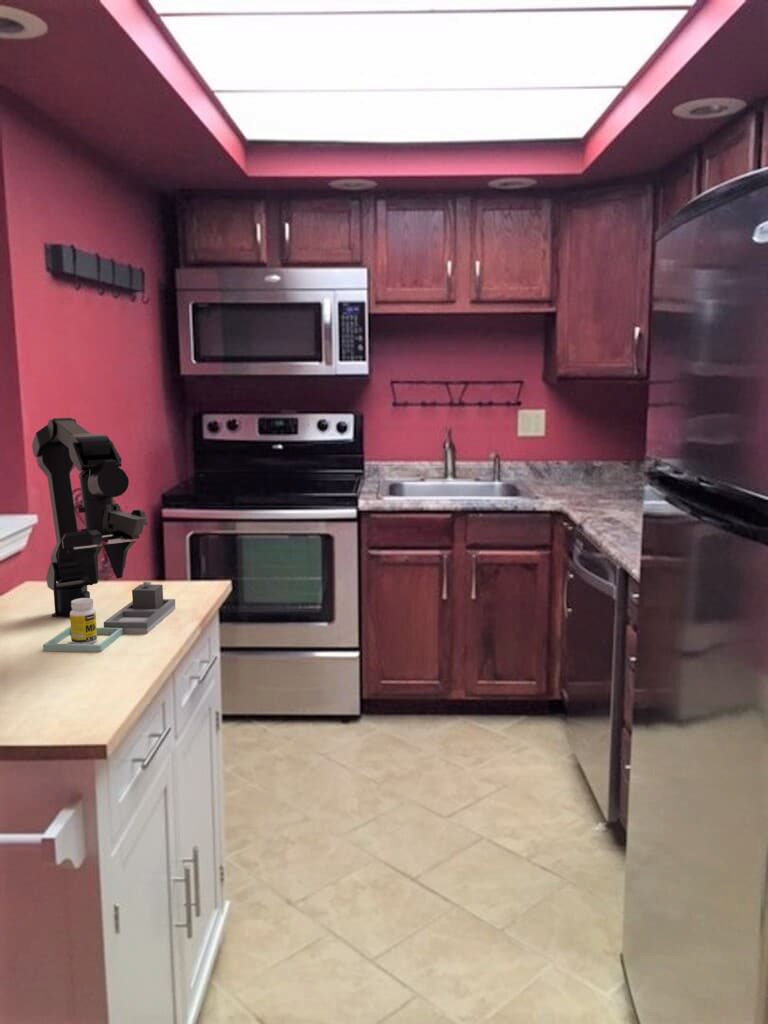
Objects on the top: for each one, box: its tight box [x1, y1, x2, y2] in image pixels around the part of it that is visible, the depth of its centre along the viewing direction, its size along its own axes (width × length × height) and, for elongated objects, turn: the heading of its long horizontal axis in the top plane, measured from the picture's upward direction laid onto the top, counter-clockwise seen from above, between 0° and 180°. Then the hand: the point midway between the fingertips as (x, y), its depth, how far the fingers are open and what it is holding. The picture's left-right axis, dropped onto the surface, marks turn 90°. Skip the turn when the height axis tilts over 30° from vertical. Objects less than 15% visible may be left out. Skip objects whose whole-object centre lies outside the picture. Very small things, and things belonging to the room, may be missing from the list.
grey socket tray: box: [103, 598, 177, 634], centre depth 179 cm, size 9×18×2 cm, turn 176°
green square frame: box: [42, 626, 124, 653], centre depth 164 cm, size 11×11×1 cm
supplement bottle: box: [69, 597, 98, 644], centre depth 164 cm, size 5×5×8 cm
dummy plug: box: [131, 580, 164, 609], centre depth 183 cm, size 5×5×6 cm
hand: (107, 580), depth 162 cm, fingers open, 9 cm apart
